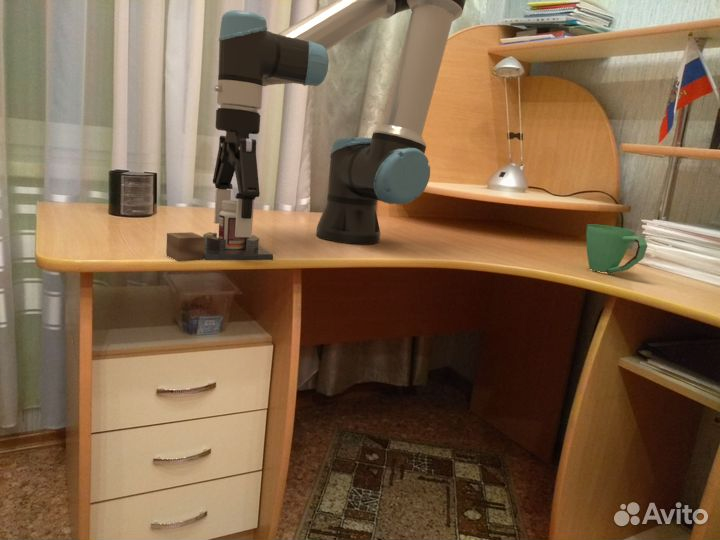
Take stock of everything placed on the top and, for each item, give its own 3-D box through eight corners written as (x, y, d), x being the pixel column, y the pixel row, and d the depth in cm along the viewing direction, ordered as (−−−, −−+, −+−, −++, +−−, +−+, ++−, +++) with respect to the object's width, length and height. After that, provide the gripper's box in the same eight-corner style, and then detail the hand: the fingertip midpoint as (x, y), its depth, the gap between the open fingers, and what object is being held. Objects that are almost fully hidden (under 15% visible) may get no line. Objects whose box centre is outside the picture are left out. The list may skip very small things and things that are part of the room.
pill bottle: (248, 246, 102) (251, 202, 100) (237, 251, 97) (240, 204, 95) (224, 243, 102) (227, 199, 101) (213, 247, 98) (215, 200, 96)
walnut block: (191, 254, 95) (192, 232, 94) (203, 260, 92) (204, 237, 91) (166, 256, 92) (166, 233, 91) (178, 262, 89) (179, 238, 88)
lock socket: (251, 246, 108) (252, 229, 107) (272, 259, 98) (274, 241, 97) (189, 245, 102) (190, 228, 101) (205, 260, 92) (206, 240, 91)
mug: (568, 266, 125) (577, 223, 123) (600, 266, 129) (608, 225, 127) (620, 282, 112) (631, 235, 110) (653, 283, 116) (664, 237, 114)
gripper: (199, 107, 103) (195, 217, 108) (238, 105, 82) (231, 243, 87) (238, 112, 107) (232, 219, 111) (285, 111, 86) (275, 243, 90)
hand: (231, 229), depth 99 cm, fingers open, 13 cm apart
